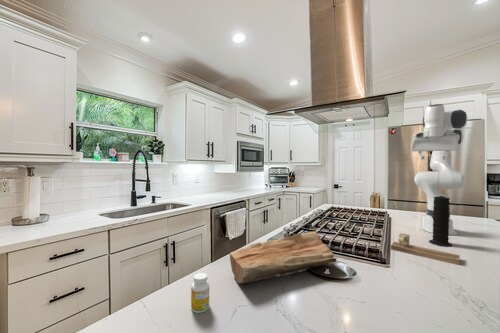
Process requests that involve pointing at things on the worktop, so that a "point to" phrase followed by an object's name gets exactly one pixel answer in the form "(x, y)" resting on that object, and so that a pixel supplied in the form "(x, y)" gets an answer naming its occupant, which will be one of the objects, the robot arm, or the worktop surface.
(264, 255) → the log
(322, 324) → the worktop surface
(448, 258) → the board
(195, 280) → the supplement bottle
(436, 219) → the handle grip
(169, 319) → the worktop surface
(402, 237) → the beige mallet
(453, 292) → the worktop surface
